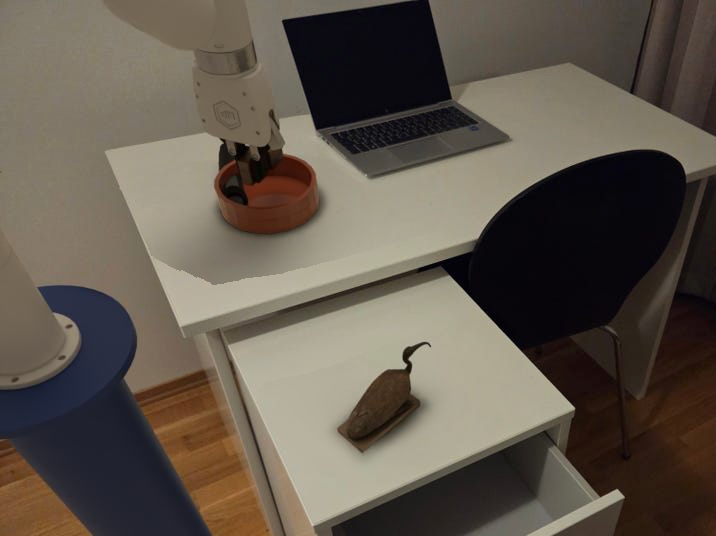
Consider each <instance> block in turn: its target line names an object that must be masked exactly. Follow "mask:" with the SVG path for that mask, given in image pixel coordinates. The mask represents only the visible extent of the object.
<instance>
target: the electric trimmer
mask: <svg viewBox="0 0 716 536" xmlns="http://www.w3.org/2000/svg"><path fill="white" fill-rule="evenodd" d="M234 160H235V157H234V155H232V154H230V153H229V151H228V147H227V146H226V145H225V144H224V143H223V142H222V144H220V146H219V149H218V172H219V171H220V170H221V169H222V168H223V167H224V166H226V165H227V164H229V163H231V162H232V161H234ZM223 195H224V196H225V197H226V198H227V199H229V200H231V201H233V202H235V203H237V204H241V205H245V206H247V204H248V198H247V195H246V193H245V191H244V188H243V185H242V181H241V178H240V175H239V174H238V173H237V174H235V175H234V176H231V177H230V178H229V179H228V181H227V182H226V183H225V185H224V187H223Z"/></svg>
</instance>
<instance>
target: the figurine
mask: <svg viewBox="0 0 716 536" xmlns="http://www.w3.org/2000/svg"><path fill="white" fill-rule="evenodd" d="M425 345H427V346H428V347H429V348H432V345H431V343H430V342H428V341H422V342H418V343H416V344H414V345H409V346H407V347H405V348H404V349H403V350H402V362H403V363H404V364H405V365H406V366H405V368H388V369H386V370H384V371H383V372H381V373H380V374H379V375H378V376H377V377H376V378H374V380H373V381H372V382H371V384H370V385H368V387H367V388H366V389H365V392H364V393H363V394H362V396H361V397H360V399H359V400H358V402H357V403H356V405H355V406H354V408H353V409H352V411H351V412H350V414H349V416H348V418H347V419H346V420H345V421H344V422H343V423H341V424H340V425H339V426H338V427H337V428H336V431H337V433H339V434H340V436H341V437H343V438H344V439H345V440H346V441H348V442H349V444H351V445H352V446H353V447H354V448H355V449H357V451H359V452H360V453H361V454H363V453H365V452H366V451H367V450H368V449H369V448H370V447H372V446H373V445H374V444H375V443H377V442H378V441H379V440H380V439H381V438H383V436H384V435H386V434H387V433H388V432H389V431H391V429H393V428H394V427H396V425H398V424H399V423H400V422H401V421H403V419H405V418H406V417H407V416H408V415H409V414H411V412H413V411H414V410H415V409H416V408H418V407H419V406H420V405H421V400H420V399H419V398H417V397H416V396H415V395H413V394H412V384H411V373H412V371H413V362H412V361H411V360H410V358H411V357H412V356H413V355H414V353H415V352H416V351H417V350H418V349H420V348H421V347H423V346H425Z"/></svg>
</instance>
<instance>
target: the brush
mask: <svg viewBox="0 0 716 536" xmlns="http://www.w3.org/2000/svg"><path fill="white" fill-rule="evenodd" d="M248 146H249V145H248ZM249 148H250V146H249ZM283 148H284V146H283V147H282V148H281V149H278V150H269V151H268V152H267V153H266V158H267V163H268V167H269V170H274V169H275V168H276V167H277V165H278V164H279V163H280V162H281V161H282V160H283V159H284V156H283V154H284V152H283ZM251 158H252V156H251V151H250V149H249V150H248V151H247V152H246V153H245V154H244V155H243V156H242V157H241V158H240V159H239V160H238V165H239V169H240V173H241V177H242V181H243V184H246V185H250V186H253V185H254V184H255V183H256V182H255V181H254V177H253V173H252V169H251V165H250V159H251Z"/></svg>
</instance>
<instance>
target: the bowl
mask: <svg viewBox="0 0 716 536" xmlns="http://www.w3.org/2000/svg"><path fill="white" fill-rule="evenodd" d="M283 156H284V159H283V160H282V161H281V162H280V163H279V164H278V165H277V167H276V168H275V169H274V170H269V173H268V175H267V176H266V177H265V178H264V179H263V180H262V181H261V182H260V183H255V184H254V185H253V186H250V185H246V184H243V181H242V179H241V181H242V185H243V188H244V191H245V193H246V195H247V198H248V204H247V206H245V205H241V204H237V203H235V202H233V201H231V200H229V199H227V198H226V197H225V196H224V195H223V187H224V185H225V183H226V182H227V181H228V179H229V178H230V177H231V176H234V175H235V174H237V173H238V174H239V171H238V169H237V165H236V161H235V160H234V161H232V162H231V163H229V164H227V165H226V166H224V167H223V168H222V169H221V170H220V171H219V170H218V172H217V173H216V176H215V177H214V180H213V189H214V192H215V195H216V199H217V202H218V206H219V209H220V211H221V215H222V216H223V219H225V221H226V222H227V223H229V224H230V225H231V226H233V227H234V228H236V229H239V230H241V231H245V232H249V233H253V234H254V233H255V234H277V233H282V232H287V231H290V230H293V229H296V228H299V227H300V226H302V225H304V224H306V223H307V222H308V221H310V220H311V219H312V218H313V217H314V216H315V214H316V213H317V211H318V210H319V206H320V195H319V188H318V181H317V174H316V171H315V170H314V168H313V166H312V165H311V164H309V163H308V162H307V161H306V160H304V159H302V158H300V157H298V156H295V155H291V154H288V153H283Z"/></svg>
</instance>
